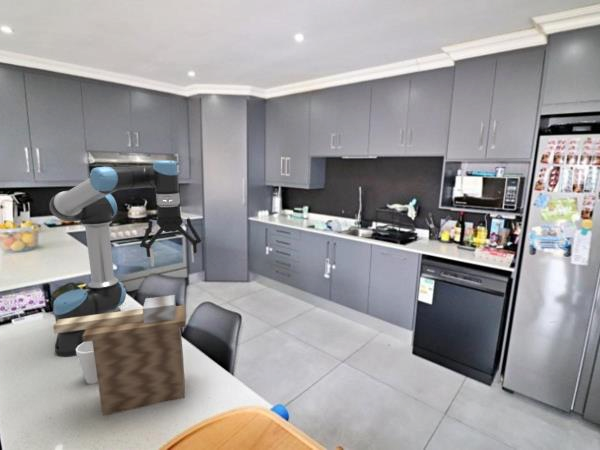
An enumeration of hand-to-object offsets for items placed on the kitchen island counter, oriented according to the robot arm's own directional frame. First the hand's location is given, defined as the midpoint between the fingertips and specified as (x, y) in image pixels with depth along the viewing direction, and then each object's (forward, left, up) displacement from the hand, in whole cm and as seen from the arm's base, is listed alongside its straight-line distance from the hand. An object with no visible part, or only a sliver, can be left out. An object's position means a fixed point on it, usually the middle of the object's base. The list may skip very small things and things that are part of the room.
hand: (173, 263), depth 118 cm
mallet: (+17, -13, -13) cm, 25 cm away
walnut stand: (+16, -8, -41) cm, 45 cm away
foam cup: (+4, -29, -41) cm, 50 cm away
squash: (-58, -68, -41) cm, 98 cm away
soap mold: (-47, -50, -42) cm, 80 cm away
